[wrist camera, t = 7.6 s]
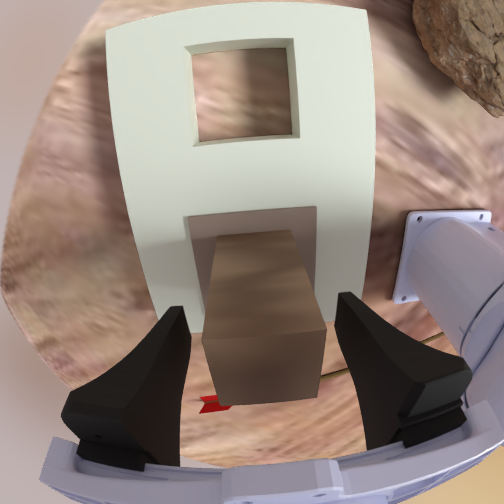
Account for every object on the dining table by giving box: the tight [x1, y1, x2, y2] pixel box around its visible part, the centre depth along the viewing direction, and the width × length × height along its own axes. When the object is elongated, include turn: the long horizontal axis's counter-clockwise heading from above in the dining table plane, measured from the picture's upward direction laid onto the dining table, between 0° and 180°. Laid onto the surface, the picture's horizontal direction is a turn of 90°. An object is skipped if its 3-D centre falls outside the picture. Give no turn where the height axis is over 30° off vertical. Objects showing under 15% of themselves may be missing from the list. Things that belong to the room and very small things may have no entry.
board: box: [106, 2, 375, 333], centre depth 16 cm, size 14×20×3 cm
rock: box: [412, 0, 504, 118], centre depth 10 cm, size 13×11×5 cm
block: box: [202, 230, 327, 406], centre depth 13 cm, size 4×4×8 cm
